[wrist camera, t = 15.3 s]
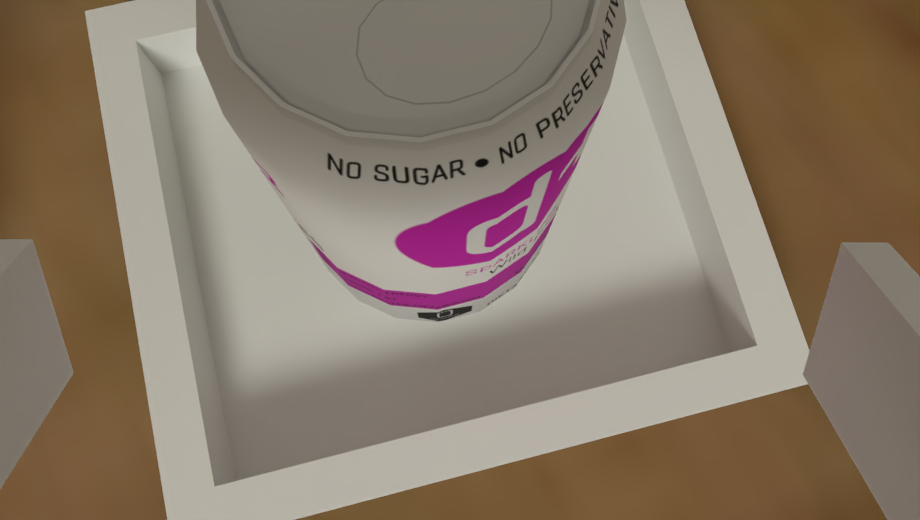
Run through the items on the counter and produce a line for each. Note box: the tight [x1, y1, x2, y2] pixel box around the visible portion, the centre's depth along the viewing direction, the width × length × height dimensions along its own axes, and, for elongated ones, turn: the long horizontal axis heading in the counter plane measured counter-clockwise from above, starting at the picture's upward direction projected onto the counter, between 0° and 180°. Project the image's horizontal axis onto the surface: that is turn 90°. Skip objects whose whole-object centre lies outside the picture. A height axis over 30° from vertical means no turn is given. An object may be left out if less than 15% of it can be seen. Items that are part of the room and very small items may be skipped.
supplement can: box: [196, 0, 627, 322], centre depth 21 cm, size 8×8×15 cm
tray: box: [85, 0, 809, 520], centre depth 28 cm, size 20×18×4 cm
